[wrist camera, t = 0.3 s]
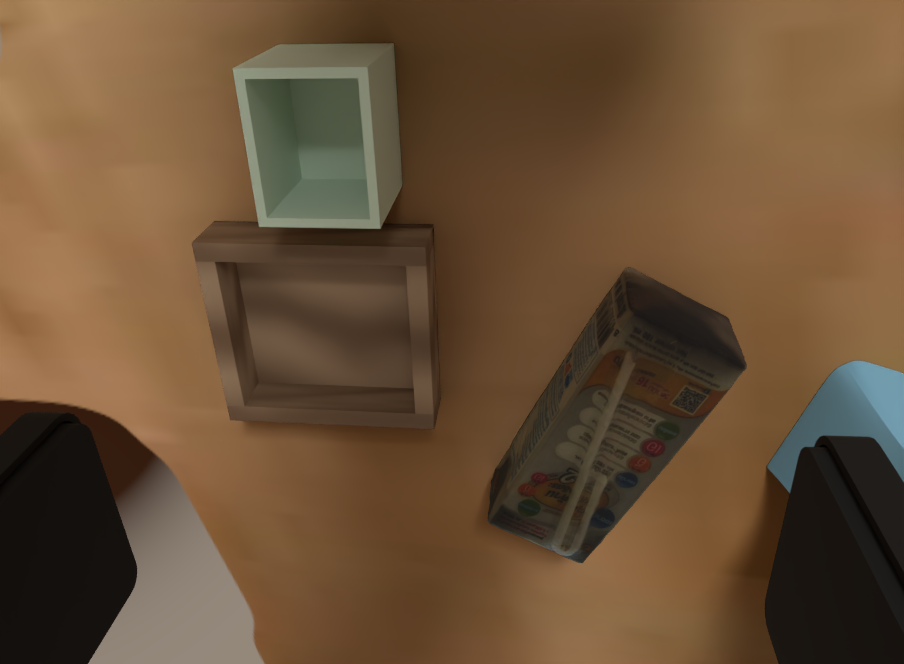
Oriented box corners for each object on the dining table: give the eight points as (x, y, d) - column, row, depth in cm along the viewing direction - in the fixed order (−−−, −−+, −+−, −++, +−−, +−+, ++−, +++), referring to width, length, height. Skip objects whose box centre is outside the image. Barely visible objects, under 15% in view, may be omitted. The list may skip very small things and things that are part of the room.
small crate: (278, 44, 41) (232, 68, 35) (393, 42, 40) (367, 66, 34) (297, 183, 45) (258, 227, 39) (402, 184, 44) (380, 228, 38)
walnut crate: (214, 221, 47) (191, 243, 44) (433, 224, 45) (425, 247, 42) (248, 390, 53) (230, 420, 50) (440, 398, 52) (434, 429, 49)
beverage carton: (486, 467, 55) (479, 532, 49) (623, 256, 45) (634, 306, 40) (581, 508, 56) (585, 576, 50) (734, 310, 46) (761, 365, 41)
